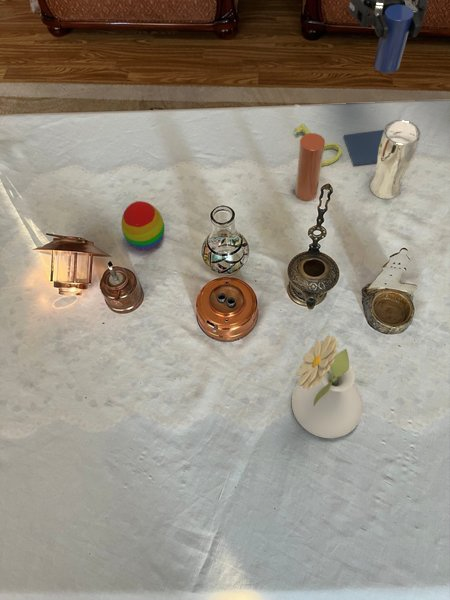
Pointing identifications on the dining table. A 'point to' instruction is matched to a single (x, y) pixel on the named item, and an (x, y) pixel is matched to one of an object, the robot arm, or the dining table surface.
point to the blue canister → (393, 38)
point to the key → (326, 146)
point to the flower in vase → (327, 392)
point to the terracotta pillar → (309, 166)
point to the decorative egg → (142, 225)
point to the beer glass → (394, 157)
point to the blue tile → (363, 147)
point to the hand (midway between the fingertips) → (400, 33)
